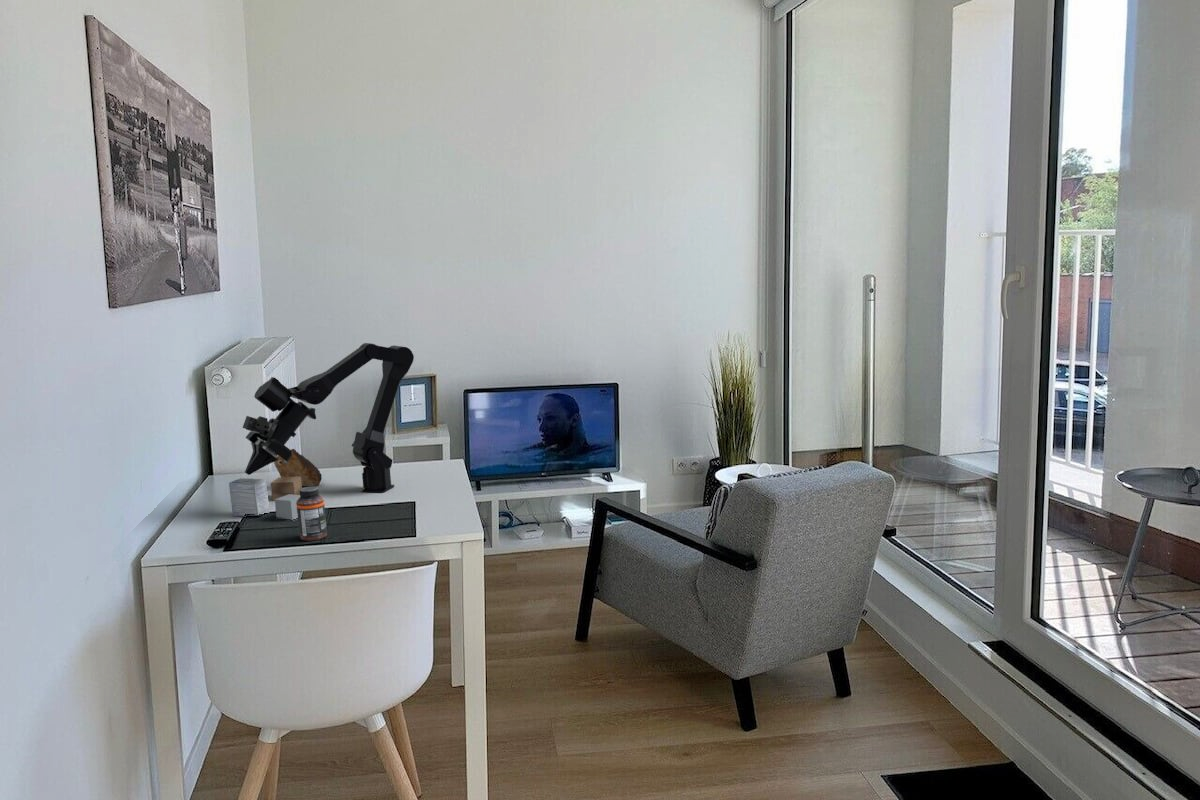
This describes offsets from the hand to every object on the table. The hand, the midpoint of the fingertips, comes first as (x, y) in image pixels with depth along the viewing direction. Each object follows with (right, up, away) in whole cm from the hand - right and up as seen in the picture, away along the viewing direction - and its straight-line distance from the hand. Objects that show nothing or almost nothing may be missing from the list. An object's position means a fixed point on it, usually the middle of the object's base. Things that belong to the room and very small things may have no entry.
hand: (246, 473), depth 240 cm
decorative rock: (+4, -6, +29) cm, 30 cm away
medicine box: (0, -10, +2) cm, 11 cm away
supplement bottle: (+22, -13, -21) cm, 33 cm away
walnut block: (+5, -8, +17) cm, 19 cm away
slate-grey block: (+12, -10, -2) cm, 16 cm away
